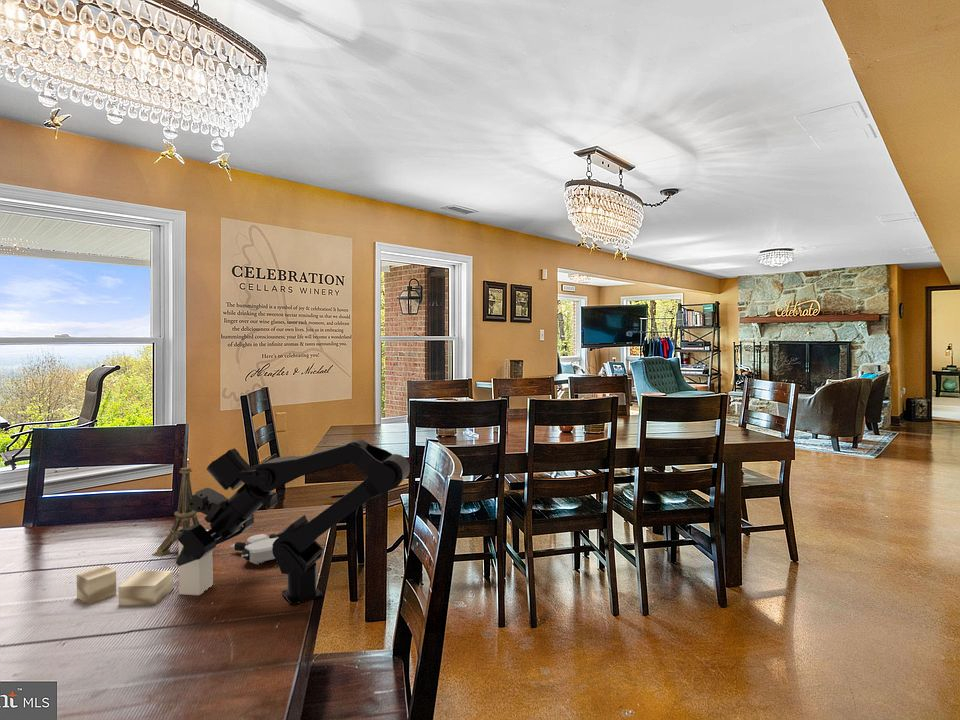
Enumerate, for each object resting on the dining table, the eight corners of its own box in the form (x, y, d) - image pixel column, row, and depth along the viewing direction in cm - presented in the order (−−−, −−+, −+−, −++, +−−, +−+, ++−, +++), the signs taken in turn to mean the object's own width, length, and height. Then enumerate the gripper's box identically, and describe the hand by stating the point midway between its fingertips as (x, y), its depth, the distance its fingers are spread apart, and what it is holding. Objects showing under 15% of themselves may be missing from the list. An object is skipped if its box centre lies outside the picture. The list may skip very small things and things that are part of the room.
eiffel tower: (184, 561, 125) (183, 457, 124) (151, 555, 128) (150, 454, 128) (219, 545, 135) (218, 449, 134) (188, 540, 138) (187, 446, 138)
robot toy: (227, 557, 130) (247, 572, 118) (227, 539, 130) (247, 552, 119) (277, 545, 138) (300, 558, 127) (276, 527, 138) (299, 539, 127)
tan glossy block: (173, 589, 111) (173, 570, 111) (155, 605, 104) (155, 585, 104) (138, 590, 111) (138, 571, 110) (118, 606, 104) (118, 586, 103)
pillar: (212, 585, 112) (212, 530, 112) (199, 595, 108) (198, 537, 108) (193, 584, 113) (192, 529, 113) (179, 594, 108) (178, 536, 108)
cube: (116, 594, 108) (116, 570, 108) (88, 604, 104) (88, 579, 104) (104, 588, 111) (104, 565, 111) (76, 598, 107) (76, 574, 106)
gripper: (241, 467, 118) (195, 513, 120) (186, 489, 100) (133, 543, 101) (274, 503, 118) (228, 548, 119) (225, 532, 99) (171, 586, 101)
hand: (192, 555), depth 110 cm, fingers open, 9 cm apart
